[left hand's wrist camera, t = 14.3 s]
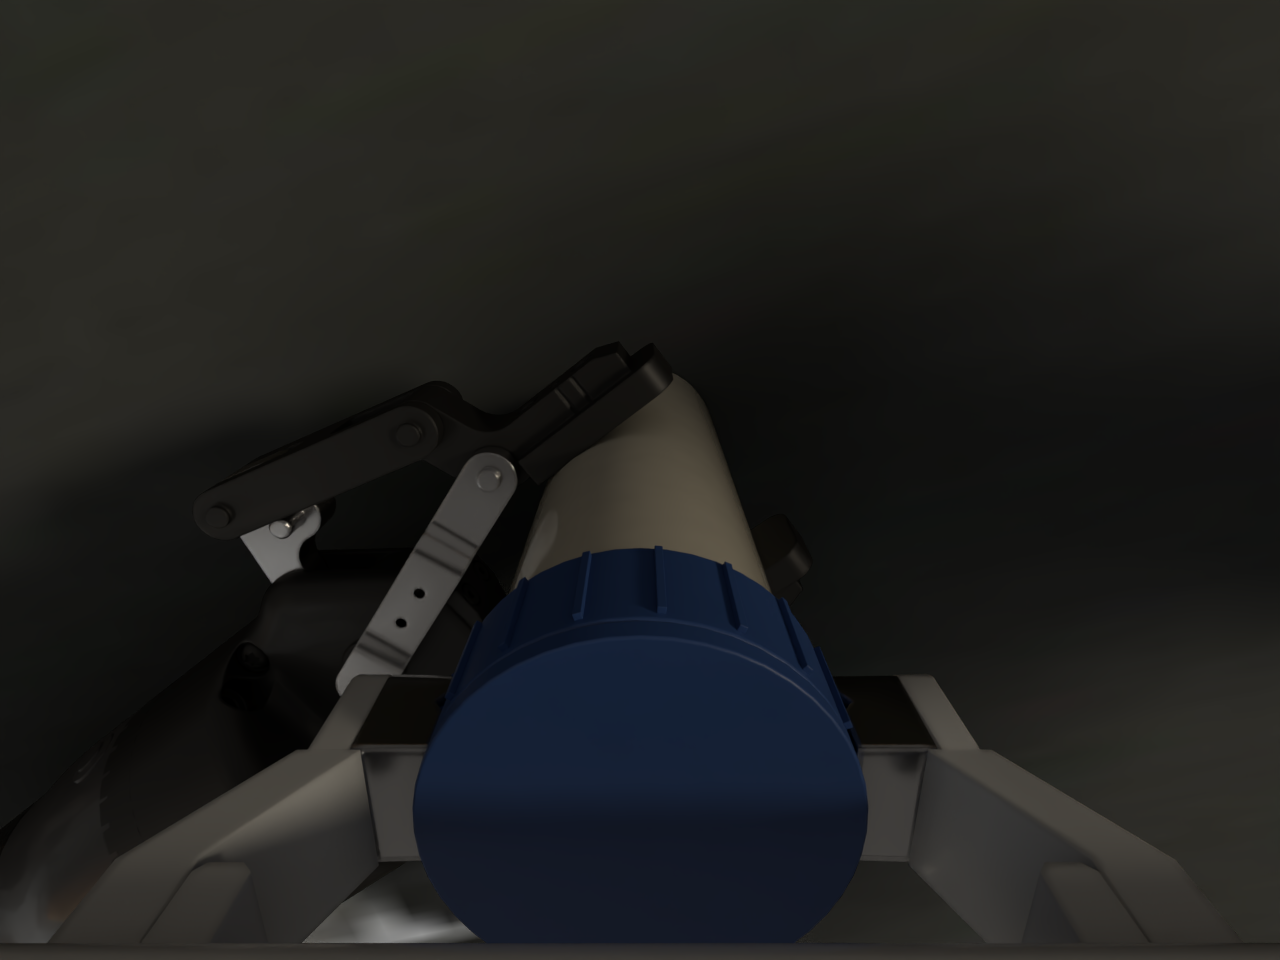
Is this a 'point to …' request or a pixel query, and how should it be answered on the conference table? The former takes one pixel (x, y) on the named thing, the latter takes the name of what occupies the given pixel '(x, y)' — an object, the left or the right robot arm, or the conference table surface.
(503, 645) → the lid
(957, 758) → the left robot arm
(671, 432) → the jar
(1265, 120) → the conference table surface
